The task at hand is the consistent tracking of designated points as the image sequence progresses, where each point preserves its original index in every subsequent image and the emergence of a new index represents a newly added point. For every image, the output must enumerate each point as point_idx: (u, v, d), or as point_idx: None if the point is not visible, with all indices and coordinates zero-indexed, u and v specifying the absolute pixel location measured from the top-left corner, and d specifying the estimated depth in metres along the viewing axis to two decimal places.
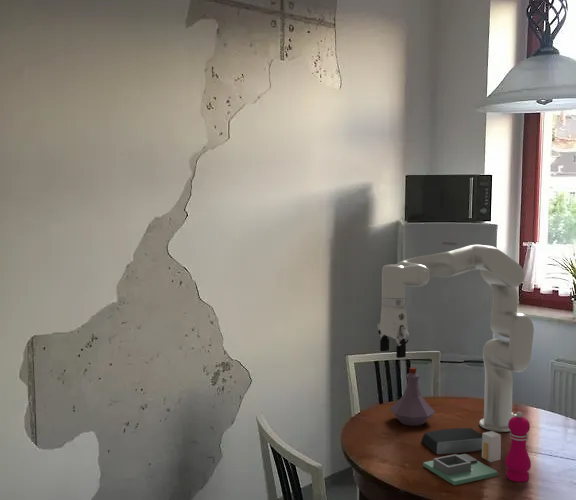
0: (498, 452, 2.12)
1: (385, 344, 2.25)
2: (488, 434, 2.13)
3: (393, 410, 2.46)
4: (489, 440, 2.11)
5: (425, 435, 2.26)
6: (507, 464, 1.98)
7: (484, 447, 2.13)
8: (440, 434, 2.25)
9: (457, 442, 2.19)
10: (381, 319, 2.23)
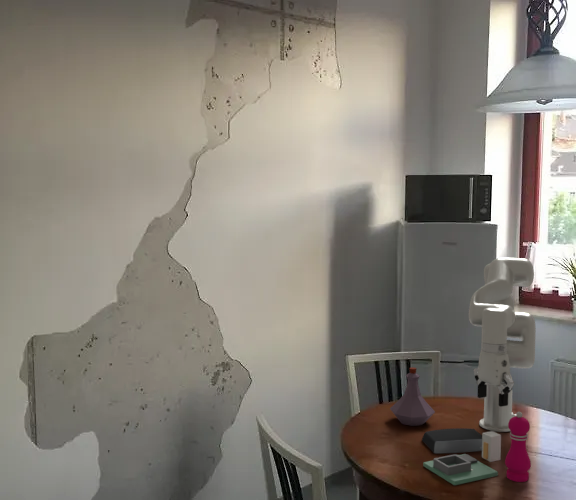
0: (498, 452, 2.12)
1: (483, 390, 2.16)
2: (488, 434, 2.13)
3: (393, 410, 2.46)
4: (489, 440, 2.11)
5: (425, 434, 2.27)
6: (507, 464, 1.98)
7: (484, 447, 2.13)
8: (439, 434, 2.25)
9: (455, 442, 2.19)
10: (480, 365, 2.13)
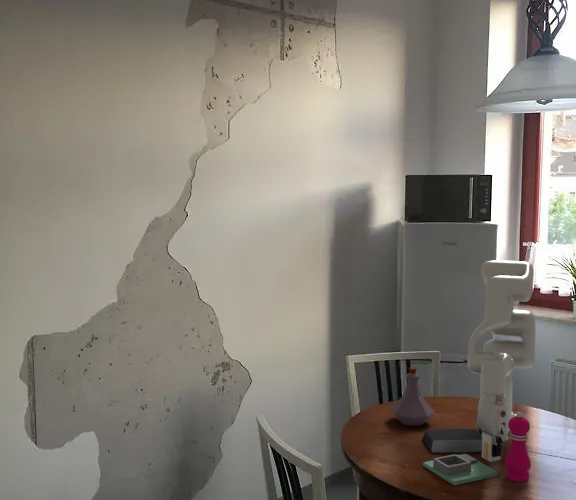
0: None
1: None
2: (488, 434, 2.13)
3: (393, 410, 2.46)
4: (489, 440, 2.11)
5: (425, 433, 2.28)
6: (507, 464, 1.98)
7: (484, 447, 2.13)
8: (439, 433, 2.26)
9: (453, 442, 2.19)
10: (479, 413, 2.15)
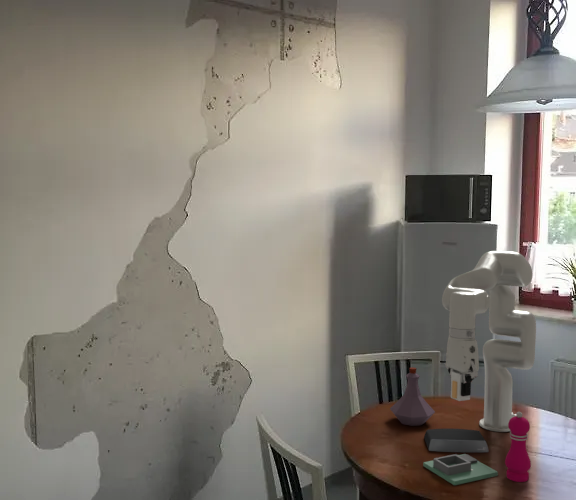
0: None
1: None
2: (457, 372, 2.02)
3: (393, 410, 2.46)
4: (458, 378, 2.00)
5: (426, 432, 2.29)
6: (507, 464, 1.98)
7: (453, 386, 2.02)
8: (439, 433, 2.27)
9: (450, 441, 2.20)
10: (448, 351, 2.04)
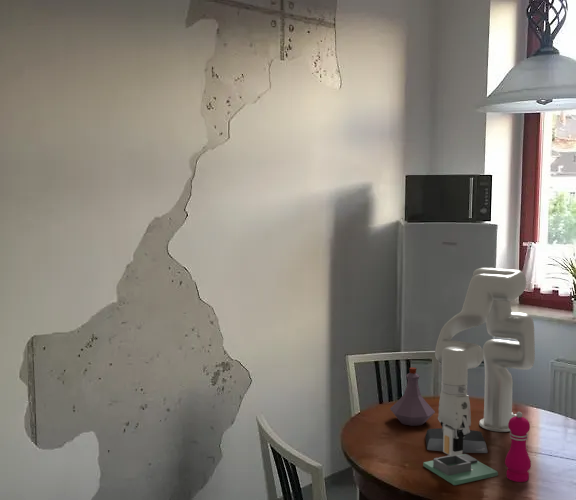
0: None
1: None
2: (449, 427, 2.02)
3: (393, 410, 2.46)
4: (450, 433, 2.00)
5: (427, 431, 2.30)
6: (507, 464, 1.98)
7: (445, 441, 2.01)
8: (440, 432, 2.27)
9: None
10: (440, 405, 2.04)
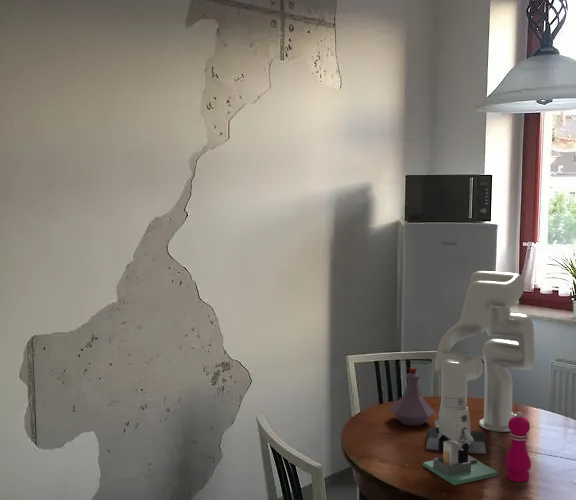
0: None
1: None
2: (449, 443, 2.02)
3: (393, 410, 2.46)
4: (450, 449, 2.01)
5: (428, 430, 2.31)
6: (507, 464, 1.98)
7: (445, 456, 2.02)
8: None
9: None
10: (440, 417, 2.04)
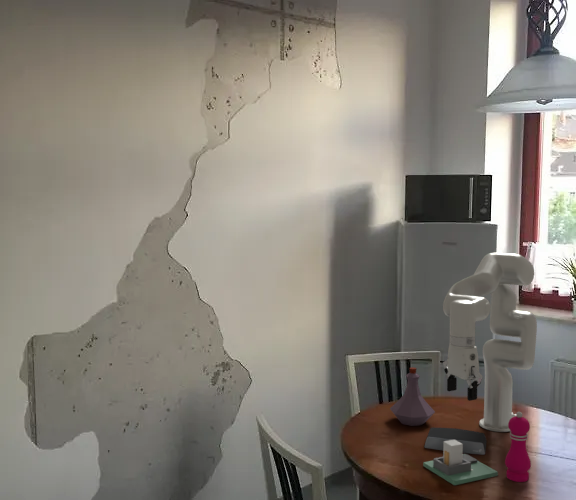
0: (459, 462, 2.01)
1: (452, 384, 2.11)
2: (449, 443, 2.02)
3: (393, 410, 2.46)
4: (450, 449, 2.01)
5: None
6: (507, 464, 1.98)
7: (445, 456, 2.02)
8: (440, 431, 2.28)
9: (446, 440, 2.20)
10: (449, 358, 2.08)
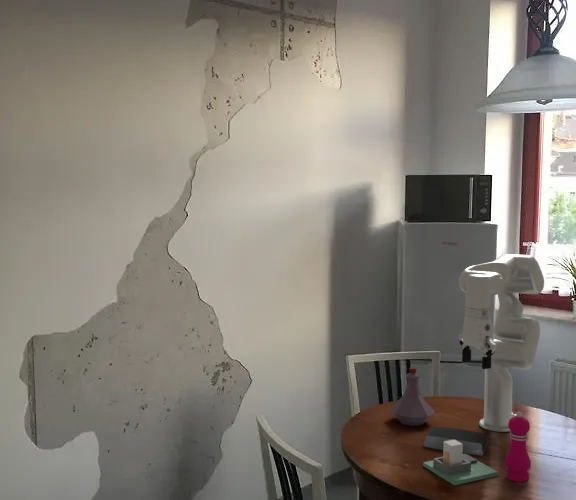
0: (459, 462, 2.01)
1: (467, 355, 2.22)
2: (449, 443, 2.02)
3: (393, 410, 2.46)
4: (450, 449, 2.01)
5: (431, 429, 2.32)
6: (507, 464, 1.98)
7: (445, 456, 2.02)
8: (441, 431, 2.28)
9: (444, 440, 2.21)
10: (464, 329, 2.20)
